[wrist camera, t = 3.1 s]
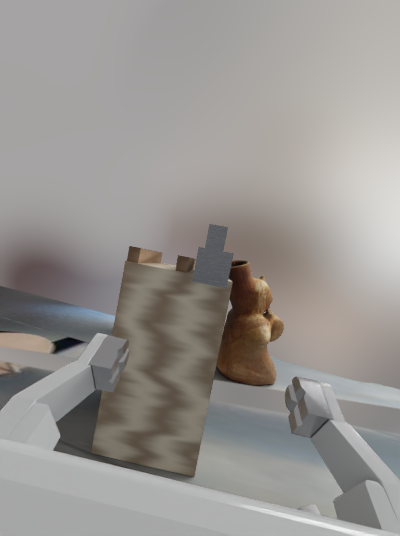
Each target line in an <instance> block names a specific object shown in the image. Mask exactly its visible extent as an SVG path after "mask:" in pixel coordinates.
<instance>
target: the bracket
mask: <svg viewBox="0 0 400 536" xmlns="http://www.w3.org/2000/svg"><path fill="white" fill-rule="evenodd" d="M227 229H228V228H227V227H223V226H217V225H211V224H210V225H209V230H208V235H207V241H206V246H205V248H201V247H199V248H198V254H197V259H196V265H195V269H194V275H193V280H192V282H197V283H202V284H207V285H213V286H218V287H223V288H227V284H228V279H229V274H230V269H231V264H232V259H233V253H227V252H223V250H224V244H225V239H226V234H227Z"/></svg>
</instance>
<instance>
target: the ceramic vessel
mask: <svg viewBox="0 0 400 536" xmlns="http://www.w3.org/2000/svg"><path fill="white" fill-rule="evenodd" d="M229 279H230V280H231V281H232V282H233V283H232V288H231V293H230V298H229V299H230V301H231V304H232V309H231V310H230V311H229V313H228V315H227V320H226V323H225V326H224V331H223V335H222V340H221V344H220V349H219V354H218V359H217V364H216V366H217V368H218V369H219V371H220V372H221V373H222V374H223V375H225V376H226V377H228V378H230V379H232V380H234V381H238V382H241V383H245V384H250V385H265V384H273V383H275V380H276V371H275V367H274V364H273V362H272V360H271V358H270V356H269V354H268V352H267V344H268V343H269V342H271V341H274V340H276V339H278V338H279V337H280V336H281V334H282V333H283V329H284V324H283V322H282V321H281V319H279V318H278V317H277V316H275V315H274V314H273V313H272V312H271V310H270V309H269V308H270V307H269V306H270V303H271V302H272V300H273V299H272V295H271V291H270V289H269V287H268V285H267V284H266V279H265V276H261V277H260V279H257V278H253V277H252V274H251V269H250V264H249V262H248V261H243V260H237V261H232V264H231V269H230V274H229ZM265 311H266V313H263V312H265Z"/></svg>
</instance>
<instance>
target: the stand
mask: <svg viewBox="0 0 400 536" xmlns="http://www.w3.org/2000/svg"><path fill="white" fill-rule="evenodd" d="M161 257H162V252H157V251H152V250H146V249H142V248H137V247H132V246H130V247H129V253H128V258H127V261H125V267H124V272H123V278H122V283H121V289H120V294H119V301H118V306H117V311H116V317H115V322H114V328H113V333H112V336H114V337H118V338H122V339H126V340H129V346H128V350H129V358H128V361H127V365H126V367H125V369H124V370H123V371H122V372H120V379H119V381H118V383H117V386H116V388H115V390H114V392H109V391H104V390H102V394H101V400H100V406H99V411H98V417H97V422H96V428H95V433H94V439H93V445H92V450H91V453H92V454H97V455H101V456H105V457H110V458H114V459H118V460H123V461H127V462H131V463H136V464H140V465H144V466H149V467H153V468H157V469H162V470H166V471H170V472H175V473H179V474H183V475H188V476H192V477H194V475H195V470H196V465H197V460H198V455H199V450H200V445H201V440H202V435H203V430H204V425H205V419H206V414H207V409H208V404H209V399H210V394H211V389H212V384H213V379H214V374H215V369H216V364H217V359H218V354H219V349H220V344H221V339H222V334H223V329H224V323H225V318H226V313H227V308H228V303H229V298H230V293H231V288H232V283H233V282H232V281H231V280H230V279H228V284H227V288H223V287H218V286H213V285H207V284H202V283H197V282H192V280H193V275H194V266H195V261H196V259H193V258H189V257H184V256H179V255H178V259H177V265H176V266H174V265H169V264H164V263H161Z"/></svg>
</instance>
